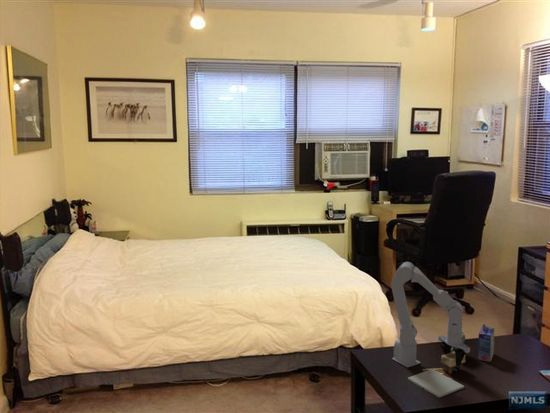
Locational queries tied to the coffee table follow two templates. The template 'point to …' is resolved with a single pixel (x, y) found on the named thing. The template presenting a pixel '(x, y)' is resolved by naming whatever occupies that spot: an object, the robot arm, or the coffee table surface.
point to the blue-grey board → (435, 383)
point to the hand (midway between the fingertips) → (453, 362)
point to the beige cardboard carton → (450, 362)
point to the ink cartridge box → (486, 344)
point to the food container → (462, 342)
